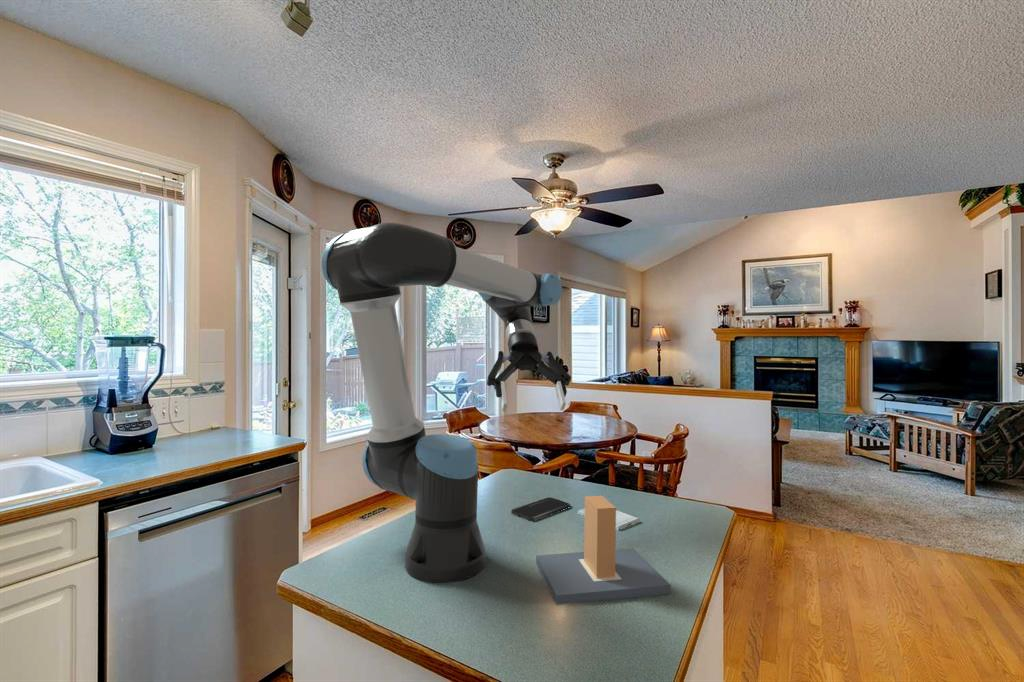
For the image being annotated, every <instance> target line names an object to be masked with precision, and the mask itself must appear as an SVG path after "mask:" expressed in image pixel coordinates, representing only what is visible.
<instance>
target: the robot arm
mask: <svg viewBox="0 0 1024 682" xmlns="http://www.w3.org/2000/svg"><path fill="white" fill-rule="evenodd" d="M455 244H456V243H454V241H453V240H452V239H450V238H449V237H446V236H444V235H440V234H438V233H436V232H435V233H434V232H432V231H429V230H426V229H423V228H420V227H416V226H411V225H409V224H403V223H397V222H382V223H378V224H374V225H371V226H367V227H362V228H357V229H353V230H348V231H345V232H343V233H341V234H340V235H337V236H336V237H334V238H333V239H331V240H330V241H329V243H328V244H327V245H326V247H325V248H324V250H323V252H322V257H321V271H322V273H323V276H324V277H323V278H325V281H326V282H327V283H328V285H330V286H331V287H332V288H333V289H334V290H336V291H337V296H338V300H339V304H340V305H341V306H342V307H344V308H345V309H346V310H348V311H349V312H350V316H351V322H352V327H353V331H354V337H355V342H356V346H357V347H356V348H357V352H358V358H359V361H360V362H359V363H360V367H361V372H362V378H363V383H364V387H365V393H366V397H367V403H368V407H369V413H370V418H371V422H372V427H371V429H370V430H369V432H368V433H367V434H366V436H367V442H366V444H365V450H363V452H362V457H361V463H362V464H361V465H362V469H363V472H364V475H365V476H366V478H367V479H368V480H369V482H371V483H372V484H374V485H375V486H377V487H378V488H380V489H382V490H384V491H386V492H393V493H396V494H398V495H400V496H403V497H407V498H409V499H411V500H414V501H415V520H414V521H415V522H414V526H413V529H412V532H411V535H410V538H409V540H408V544H407V547H406V551H405V555H404V559H405V561H404V562H405V563H404V567H405V570H406V571H407V573H408V574H409V575H411V576H412V577H414V578H416V579H418V580H421V581H424V582H429V583H430V582H431V583H450V582H451V583H452V582H457V581H461V580H465V579H467V578H470V577H472V576H474V575H476V574H478V573H479V572H480V571H481V570H482V569H484V566H485V564H486V546H485V543H484V540H483V536H482V533H481V530H480V527H479V523H478V520H477V519H478V518H477V517H478V515H477V513H478V511H477V510H478V486H479V461H478V450H477V448H476V446H475V444H474V443H473V442H472V441H470V440H468V439H467V438H464V437H461V436H457V435H453V434H451V435H447V434H444V433H438V434H436V433H435V434H434V433H433V434H428V435H426V429H425V424H424V422H423V421H422V420H421V419H419V418H417V417H416V415H415V414H416V413H415V410H414V405H413V399H412V393H411V388H410V382H409V377H408V370H407V367H406V360H405V359H406V358H405V354H404V348H403V344H402V343H403V342H402V337H401V332H400V328H399V321H398V316H397V311H396V310H397V309H396V304H397V303H398V300H399V299H400V298H401V296H402V293H401V288H400V287H407V286H409V287H410V286H429V287H432V288H441V287H444V286H445V285H447V286H451V287H455V288H460V289H464V290H468V291H471V292H472V291H473V292H477V293H478V295H479V297H481V300H483V302H485V303H486V304H487V305H488V307H490V308H491V309H492V310H493V311H494V313H495V314H496V315H497V316H498V317H499V318H500V319H501V320H502V321H503V323H504V328H505V333H506V334H505V335H506V341H507V347H508V348H507V349H508V353H504V352H503V350H499V351H498V354H497V360H496V361H495V363H494V365H493V366H492V368H491V370H490V372H489V374H488V376H487V379H486V380H487V381H486V385H487V386H488V387H490V386H493V387H494V390H495V396H496V398H500V401H501V410H502V412H506V411H507V406H508V400H507V398H508V397H507V392H506V385H505V382H506V381H507V380H508V379H509V377H511V375H512V374H514V373H515V372H516V371H517V370H519V371H535V372H536V373H538V374H541V375H542V376H544V377H545V378H546V379H547V380H549V381H550V382H551V383H552V384H554V385H555V388H554V389H555V393H556V398H557V402H558V405H559V409H560V411H564V410H565V407H566V405H567V401H566V397H567V394H568V390H567V387H568V386H569V385H570V382H571V379H572V376H571V375H570V374H569V373H568V371H566V370H565V368H563V366H562V365H561V364H560V363H559V362H558V361H557V360H556V358H554V355H553V353H552V352H551V351H547V352H546V353H545V354H542V353H540V349H539V346H538V342H537V336H536V331H535V328H534V323H533V320H532V314H531V307H547V306H554V305H557V304H558V303H559V302H560V300H561V298H562V296H563V286H562V285H563V284H562V282H561V280H560V277H558V275H556V274H554V273H541V274H539V273H538V274H537V273H535V272H531V271H528V270H525V269H522V268H519V267H516V266H514V265H510V264H508V263H504V262H503V261H499V260H495V259H493V258H490V257H487V256H486V255H485V256H484V255H481V254H479V253H476V252H473V251H470V250H467V249H464V248H461V247H458V246H456V245H455ZM507 360H508V361H509V362H510V363H509V364H508V365H507V366H506V367H505V368H504V370H503V371H502V372H501V373H500V374H499V372H500V370H501V368H502V365H503V364H505V363H506V361H507ZM498 374H499V375H498Z"/></svg>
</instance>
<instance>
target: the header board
mask: <svg viewBox="0 0 1024 682" xmlns="http://www.w3.org/2000/svg"><path fill="white" fill-rule="evenodd" d="M535 564H536V567H537V568H538V570H539V572H540V575H541V576H542V578H543V580H544V582H545V584H546V587H547V588H548V591H549V593H550V594H551V596H552V598H553V600H554V603H555V604H556V605H557V606H558V605H568V604H578V603H587V602H588V603H589V602H601V601H607V600H608V601H609V599H610V600H618V599H628V598H629V599H630V598H639V597H640V598H641V597H651V596H663V595H670V594H671V583H669V582H668V580H666V578H665V577H663V576H662V575H661V574H660V573H659V571H657V570H656V569H655V568H654V567H653V566H652V565H651V564H650V563H649V562H648V561H647V560H646V559H645V558H644V557H643V556H642V555H641V554H640V553H639V552H638V551H637V550H636V549H635V548H634V547H632V548H631V547H630V548H618V549H617V548H615V577H606V578H596V577H595V575H594V574H593V573H592V571H591V570H590V568H589V567H588V566H587V564H586V563H585V562H584V551H577V552H568V553H567V552H564V553H563V552H561V553H552V554H550V553H549V554H540V555H539V554H537V555H535Z"/></svg>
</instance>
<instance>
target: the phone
mask: <svg viewBox="0 0 1024 682" xmlns="http://www.w3.org/2000/svg"><path fill="white" fill-rule="evenodd" d="M568 507H570V508H571V504H570V503H569V502H566V501H562V500H560V499H558V498H554V497H545V498H542V499H539V500H536V501H534V502H530V503H527V504H523V505H522V506H518V507H515V508H512V509H511V511H510V513H511V515H512V514H513V516H515V517H517V516H519V517H521V518H520V519H522V518H523V520H525V519H526V520H525V521H527V520H528V521H527V522H530V521H534V522H537V521H540V520H542V519H541V518H543V519H545V518H547V517H546V516H548V517H550V516H549V515H551V514H553V515H555V514H554V513H556V512H558V511H561V510H563V509H566V508H568ZM561 512H562V511H561ZM556 514H557V513H556ZM551 516H552V515H551ZM544 517H545V518H544ZM539 519H540V520H539ZM536 520H537V521H536Z"/></svg>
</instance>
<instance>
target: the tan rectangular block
mask: <svg viewBox="0 0 1024 682" xmlns="http://www.w3.org/2000/svg"><path fill="white" fill-rule="evenodd" d="M584 508H585V517H584V521H583V522H584V534H583V535H584V536H583V538H584V539H583V542H584V543H583V545H584V546H583V552H584V562H585V563H586V564H587V566H588V567H589V568H590V570H591V571H592V573H593V574H594V575H595V577H596V578H606V577H615V549H616V540H617V539H616V535H617V534H616V533H617V532H616V531H617V530H616V510H617V507H616V506H614V504H612V503H611V502H610V501H609V500H608V499H607V498H605V497H604V496H603V495H589V496H588V495H587V496H584Z"/></svg>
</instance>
